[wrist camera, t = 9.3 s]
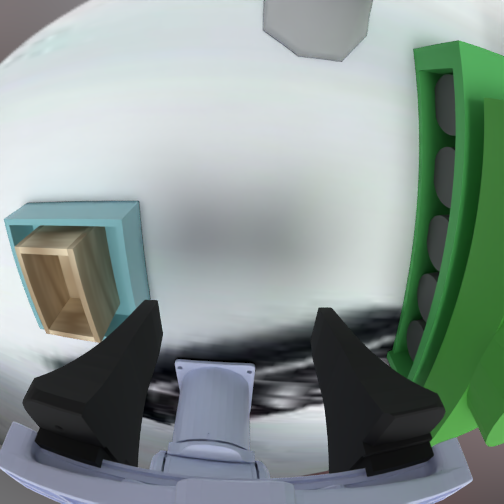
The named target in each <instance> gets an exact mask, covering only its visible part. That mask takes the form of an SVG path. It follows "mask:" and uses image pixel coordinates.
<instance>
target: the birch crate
mask: <svg viewBox="0 0 504 504" xmlns="http://www.w3.org/2000/svg"><path fill="white" fill-rule="evenodd" d="M15 251H16V254H17V258H18V261H19V264H20V267H21V270H22V273H23V276H24V279H25V282H26V285H27V287H28V290H29V293H30V295H31V298H32V301H33V303H34V306H35V308H36V311H37V313H38V315H39V318H40V320H41V322H42V325H43V327H44V329H45V331H46V333H47V334H52V335H58V336H63V337H68V338H74V339H80V340H86V341H92V342H98V343H100V342H102V340H103V338H104V335H105V333H106V331H107V329H108V327H109V325H110V323H111V321H112V319H113V317H114V315H115V313H116V311H117V309H118V307H119V305H120V300H119V295H118V291H117V287H116V282H115V278H114V273H113V268H112V263H111V258H110V253H109V248H108V242H107V236H106V230H105V226H54V225H40V226H39V227H37V228H36V229H35V230H34V231H32V232H31V233H30V234H29V235H28V236H26V237H25V238H24V239H23V240H22V241H20V242H19V243H18V244H17V245H16V246H15Z"/></svg>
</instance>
